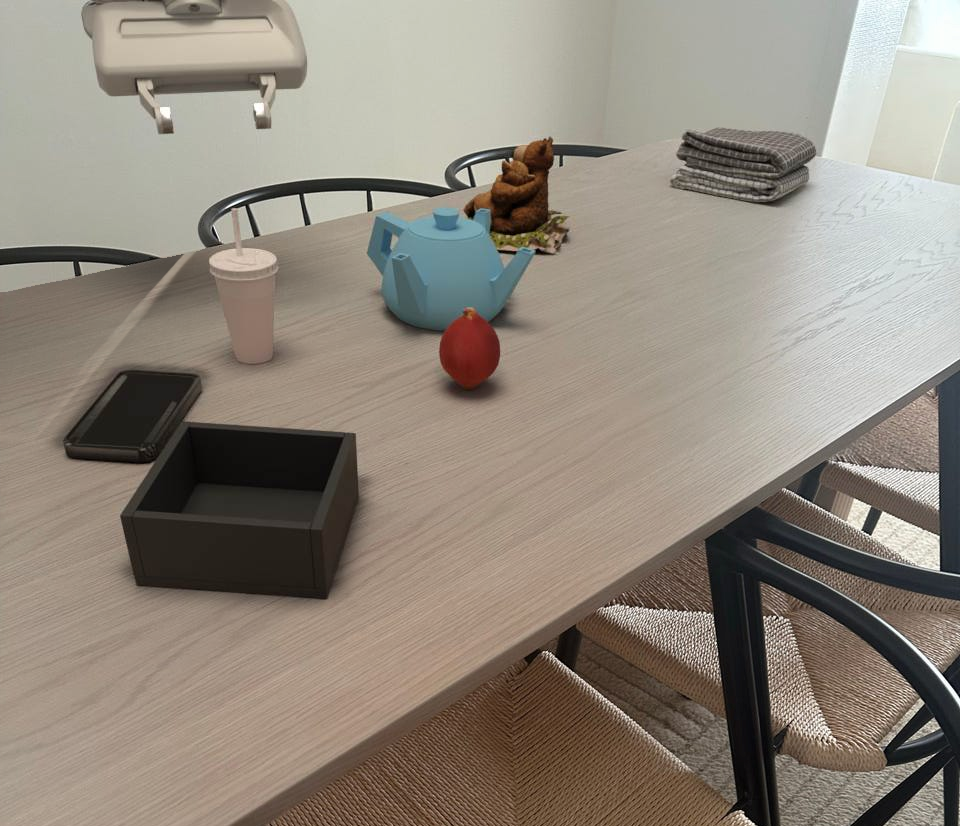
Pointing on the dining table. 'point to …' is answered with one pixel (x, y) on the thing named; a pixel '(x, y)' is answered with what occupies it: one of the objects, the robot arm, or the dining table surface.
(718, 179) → the towel
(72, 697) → the dining table surface
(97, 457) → the phone
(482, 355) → the onion
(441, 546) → the dining table surface
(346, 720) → the dining table surface
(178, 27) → the robot arm
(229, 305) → the smoothie
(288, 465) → the black tray
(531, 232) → the bear figurine
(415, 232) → the teapot
